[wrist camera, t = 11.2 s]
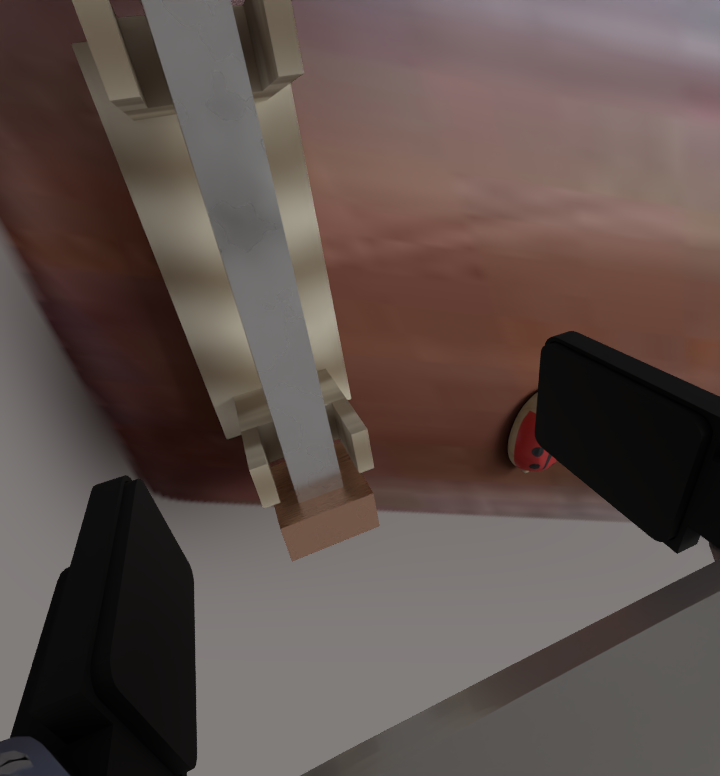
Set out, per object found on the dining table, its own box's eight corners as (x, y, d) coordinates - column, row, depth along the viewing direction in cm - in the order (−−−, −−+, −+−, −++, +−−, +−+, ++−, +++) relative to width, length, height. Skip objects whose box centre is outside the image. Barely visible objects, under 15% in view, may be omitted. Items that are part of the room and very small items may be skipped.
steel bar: (55, -129, 16) (-5, -264, 11) (220, -133, 17) (235, -255, 12) (275, 499, 32) (292, 561, 27) (350, 471, 33) (379, 526, 28)
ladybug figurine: (570, 382, 45) (597, 398, 42) (542, 460, 49) (565, 479, 46) (519, 385, 42) (544, 402, 39) (494, 467, 47) (515, 488, 44)
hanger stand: (75, 49, 21) (6, -24, 13) (274, 26, 23) (324, -49, 15) (225, 431, 33) (239, 521, 25) (346, 392, 35) (396, 463, 27)
